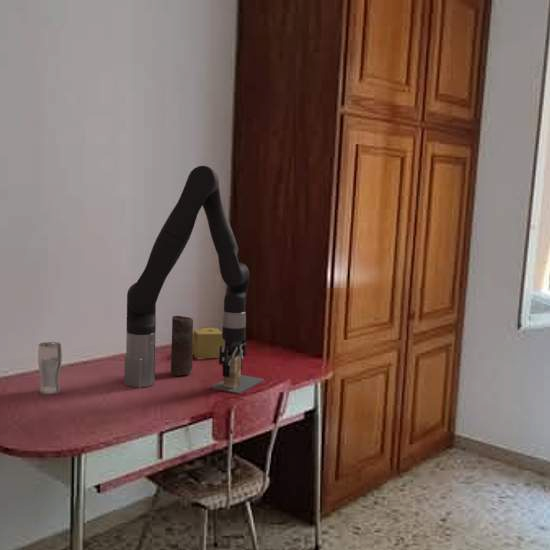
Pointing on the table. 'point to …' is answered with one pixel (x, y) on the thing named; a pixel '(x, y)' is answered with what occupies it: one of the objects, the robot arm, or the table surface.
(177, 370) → the brown rough cylinder
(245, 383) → the mat
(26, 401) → the table surface
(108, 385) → the table surface
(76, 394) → the table surface
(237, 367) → the block
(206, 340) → the cheese
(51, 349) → the beer glass
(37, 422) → the table surface
